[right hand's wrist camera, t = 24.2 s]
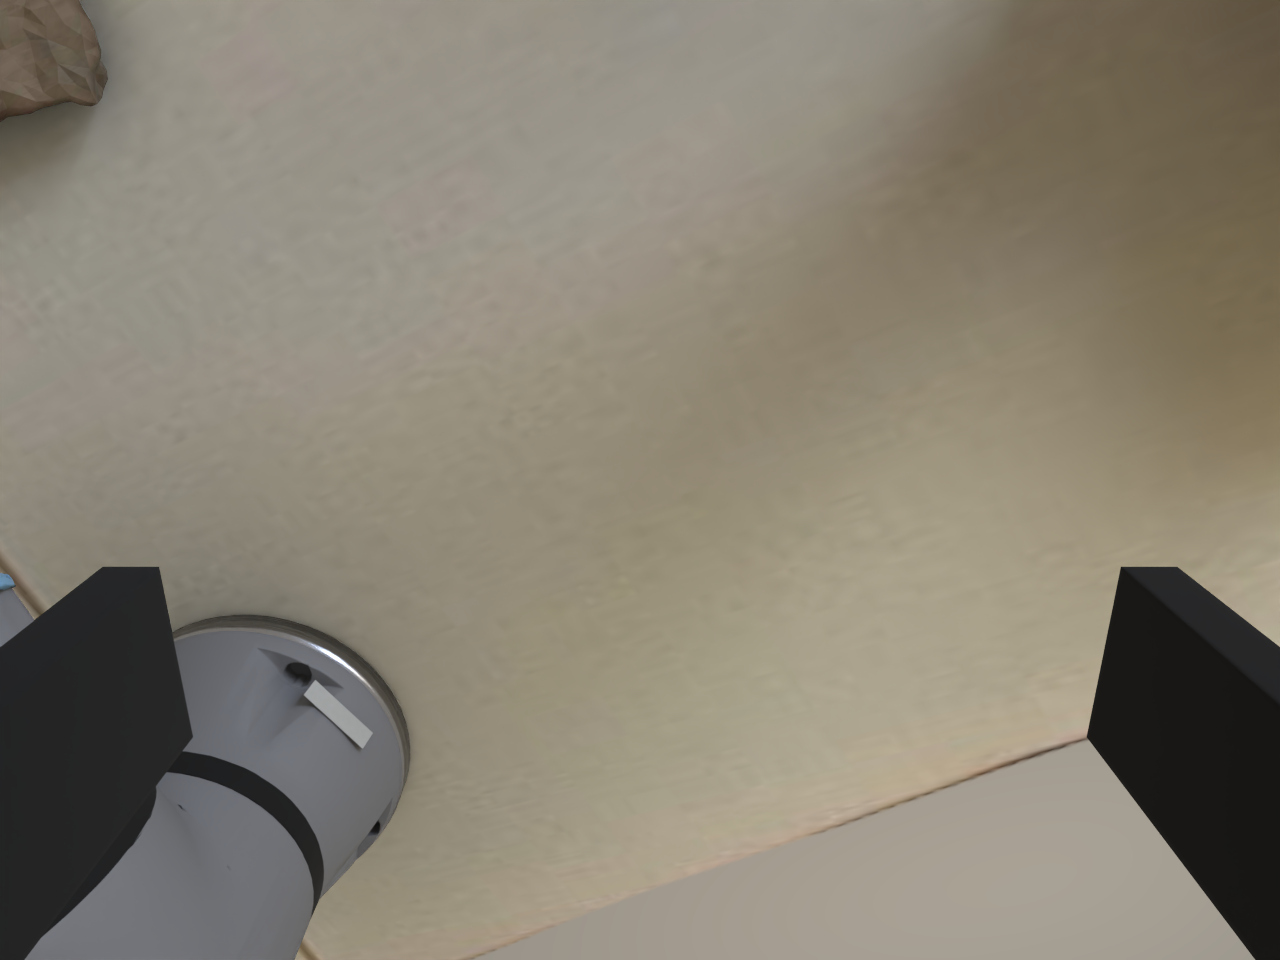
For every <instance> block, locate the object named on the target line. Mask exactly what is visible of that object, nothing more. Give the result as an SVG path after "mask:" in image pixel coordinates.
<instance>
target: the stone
mask: <svg viewBox="0 0 1280 960" xmlns="http://www.w3.org/2000/svg"><path fill="white" fill-rule="evenodd" d="M100 57H101V50H100V47H99V44H98V41H97V37H96V34H95V30H94V28H93V26H92V24H91V22H90V20H89V18H88V17H87V15H86V13H85V12H84V10H83V9H82V6H81V4H80V2H79V0H0V122H1V121H2V120H4V119H5V118H6V117H10V116H17V115H23V114H30V113H33V112H34V111H36V110H39V109H41V108H44V107H49V106H53V105H56V104H60V103H64V102H71V101H72V102H75V103H77V104H79V105H85V106H93V105H95V104H97V103H98V102H99V101H100V99H101V98H102V94H103V89H104V87H105V84H106V82H107V79H108V78H107V72H106V69H105V67H104V65H103V64H102V62H101V61H100Z"/></svg>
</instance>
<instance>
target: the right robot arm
mask: <svg viewBox="0 0 1280 960" xmlns="http://www.w3.org/2000/svg"><path fill="white" fill-rule="evenodd" d="M15 586H16V585H15V584H14V582H13V580H12V578H11V577H10V576H9V575H8V574H2V573H0V960H294V959H295V957H296V954H297V952H298V949H299V947H300V944H301V942H302V939H303V937H304V934H305V932H306V929H307V927H308V924H309V921H310V919H311V917H312V915H313V912H314V910H315V908H316V905H317V903H318V901H319V899H320V898H321V897H322V896H323V895H324V894H325V893H326V892H327V891H328V890H329V889H330V888H331V887H332V886H333V884H334V883H335V882H336V881H337V880H338V879H339V878H340V877H341V876H342V875H343V874H344V873H345V872H346V871H347V870H348V869H349V868H350V867H351V865H352V864H353V863H354V861H355V860H356V859H357V858H359V857H360V856H361V855H362V854H363V853H364V852H365V851H366V850H367V849H368V848H369V847H370V846H371V845H372V844H373V843H374V842H375V840H376V839H377V838H378V837H379V835H380V834H381V833H382V831H383V830H384V828H385V827H386V826H387V824H388V823H389V821H390V819H391V818H392V816H393V814H394V812H395V810H396V807H397V804H398V802H399V799H400V796H401V794H402V791H403V788H404V785H405V783H406V780H407V775H408V771H409V764H410V742H409V734H408V730H407V726H406V722H405V719H404V717H403V714H402V711H401V709H400V707H399V705H398V703H397V701H396V699H395V697H394V695H393V694H392V692H391V691H390V689H389V687H388V686H387V685H386V683H385V682H384V681H383V679H382V678H381V677H380V676H379V675H378V674H377V672H376V671H375V670H374V669H373V668H372V667H371V666H370V665H369V664H368V663H367V662H366V661H364V660H363V659H362V658H361V657H360V656H359V655H357V654H356V653H355V652H353V651H352V650H351V649H350V648H348V647H347V646H345V645H343V644H342V643H340V642H339V641H337V640H335V639H334V638H332V637H330V636H328V635H326V634H324V633H322V632H320V631H317V630H315V629H313V628H310V627H308V626H305V625H302V624H299V623H296V622H292V621H288V620H284V619H280V618H274V617H267V616H257V615H231V616H222V617H216V618H211V619H206V620H202V621H199V622H196V623H192V624H190V625H188V626H185V627H183V628H180V629H178V630H177V631H175V632H173V633H172V629H171V624H170V619H169V614H168V609H167V605H166V600H165V595H164V590H163V585H162V580H161V575H160V570H159V567H102V568H101V569H100V570H98V571H97V572H96V573H94V574H93V575H92V576H91V577H89V578H88V579H87V580H85V581H84V582H83V583H82V584H80V585H79V586H78V587H77V588H75V589H74V590H73V591H71V592H70V593H69V594H68V595H66V596H65V597H64V598H62V599H61V600H60V601H59V602H57V603H56V604H55V605H53V606H52V607H51V608H50V609H48V610H47V611H46V612H45V613H43V614H42V615H41V616H39V617H38V618H37V619H36V620H34V619H33V618H32V616H31V615H30V613H29V612H28V610H27V609H26V608H25V606H24V605H23V603H22V602H21V601H20V599H19V598H18V596H17V595H16V594H15V592H14V591H13V589H12V588H13V587H15ZM1087 738H1088V739H1089V741H1090V742H1091V743H1092V744H1093V746H1094V747H1095V748H1096V750H1097V751H1098V752H1099V754H1100V755H1101V756H1102V758H1103V759H1104V760H1105V762H1106V763H1107V764H1108V766H1109V767H1110V768H1111V770H1112V771H1113V772H1114V773H1115V775H1116V776H1117V777H1118V779H1119V780H1120V781H1121V783H1122V784H1123V785H1124V787H1125V788H1126V789H1127V791H1128V792H1129V793H1130V795H1131V796H1132V797H1133V799H1134V800H1135V801H1136V802H1137V804H1138V805H1139V806H1140V808H1141V809H1142V811H1143V812H1144V813H1145V814H1146V816H1147V817H1148V818H1149V820H1150V821H1151V822H1152V824H1153V825H1154V826H1155V828H1156V829H1157V830H1158V832H1159V833H1160V834H1161V835H1162V837H1163V838H1164V840H1165V841H1166V842H1167V844H1168V845H1169V846H1170V848H1171V849H1172V850H1173V851H1174V853H1175V854H1176V855H1177V857H1178V858H1179V859H1180V861H1181V862H1182V863H1183V865H1184V866H1185V867H1186V869H1187V870H1188V871H1189V873H1190V874H1191V875H1192V876H1193V878H1194V879H1195V880H1196V882H1197V883H1198V884H1199V886H1200V887H1201V888H1202V890H1203V891H1204V892H1205V894H1206V895H1207V896H1208V898H1209V899H1210V900H1211V902H1212V903H1213V904H1214V906H1215V907H1216V908H1217V910H1218V911H1219V912H1220V914H1221V915H1222V916H1223V918H1224V919H1225V920H1226V921H1227V923H1228V924H1229V925H1230V927H1231V928H1232V929H1233V931H1234V932H1235V933H1236V935H1237V936H1238V937H1239V939H1240V940H1241V941H1242V943H1243V944H1244V945H1245V946H1246V948H1247V949H1248V950H1249V952H1250V953H1251V954H1252V956H1253V957H1254V958H1255V960H1280V647H1279V646H1278V645H1276V644H1275V643H1274V642H1273V641H1271V640H1270V639H1269V638H1267V637H1266V636H1265V635H1264V634H1262V633H1261V632H1260V631H1258V630H1257V629H1256V628H1255V627H1253V626H1252V625H1251V624H1250V623H1248V622H1247V621H1246V620H1244V619H1243V618H1242V617H1241V616H1239V615H1238V614H1237V613H1235V612H1234V611H1233V610H1232V609H1230V608H1229V607H1228V606H1227V605H1225V604H1224V603H1223V602H1221V601H1220V600H1219V599H1218V598H1216V597H1215V596H1214V595H1212V594H1211V593H1210V592H1209V591H1207V590H1206V589H1205V588H1203V587H1202V586H1201V585H1200V584H1198V583H1197V582H1196V581H1195V580H1193V579H1192V578H1191V577H1189V576H1188V575H1187V574H1186V573H1184V572H1183V571H1182V570H1180V569H1179V568H1178V567H1121V570H1120V575H1119V580H1118V585H1117V590H1116V595H1115V600H1114V605H1113V609H1112V614H1111V619H1110V624H1109V629H1108V634H1107V639H1106V644H1105V649H1104V654H1103V659H1102V664H1101V669H1100V674H1099V679H1098V684H1097V689H1096V694H1095V699H1094V704H1093V709H1092V714H1091V719H1090V724H1089V729H1088V734H1087Z"/></svg>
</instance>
